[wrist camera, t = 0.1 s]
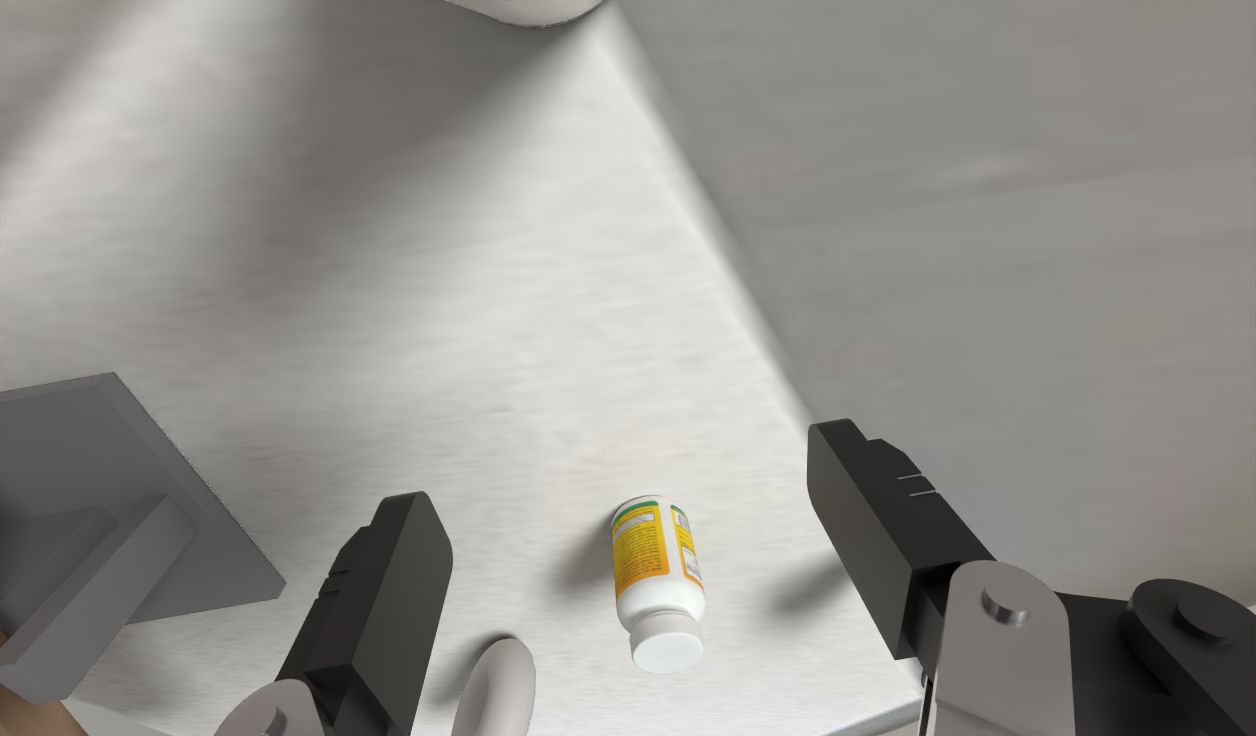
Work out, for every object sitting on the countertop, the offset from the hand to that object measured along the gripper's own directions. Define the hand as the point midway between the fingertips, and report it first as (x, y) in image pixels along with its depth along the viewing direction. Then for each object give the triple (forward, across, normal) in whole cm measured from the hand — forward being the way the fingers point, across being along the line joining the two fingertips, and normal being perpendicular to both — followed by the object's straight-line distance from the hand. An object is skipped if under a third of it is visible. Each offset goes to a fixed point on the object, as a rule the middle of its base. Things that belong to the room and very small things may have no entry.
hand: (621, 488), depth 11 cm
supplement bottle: (+18, 0, +20) cm, 27 cm away
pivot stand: (+18, +34, +11) cm, 40 cm away
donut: (+19, +14, +32) cm, 40 cm away
